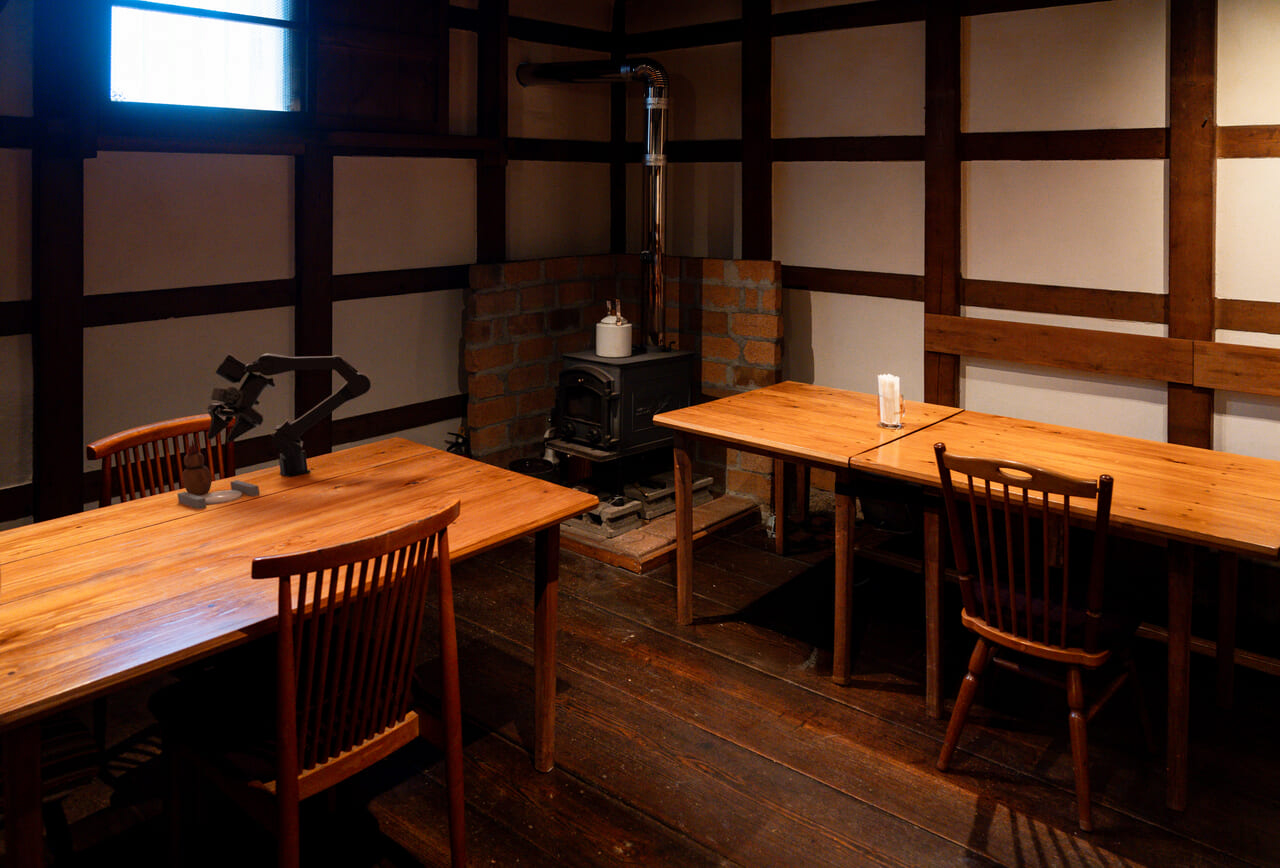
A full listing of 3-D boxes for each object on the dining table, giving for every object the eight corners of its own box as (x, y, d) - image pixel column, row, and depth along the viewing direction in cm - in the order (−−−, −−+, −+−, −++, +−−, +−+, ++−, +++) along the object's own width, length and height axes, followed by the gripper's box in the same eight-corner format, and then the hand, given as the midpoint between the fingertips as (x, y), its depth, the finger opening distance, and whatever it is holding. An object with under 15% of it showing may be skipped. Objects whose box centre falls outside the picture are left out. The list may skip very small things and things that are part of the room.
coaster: (230, 491, 263) (230, 488, 263) (249, 496, 256) (248, 493, 255) (189, 500, 255) (188, 497, 255) (207, 506, 248) (207, 503, 248)
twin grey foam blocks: (238, 488, 265) (237, 480, 265) (259, 494, 257) (258, 485, 257) (178, 502, 254) (177, 493, 253) (198, 509, 246) (197, 499, 245)
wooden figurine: (206, 490, 266) (198, 436, 263) (216, 492, 262) (208, 437, 259) (181, 496, 261) (173, 441, 258) (192, 498, 257) (183, 442, 254)
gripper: (208, 374, 271) (176, 421, 265) (247, 376, 261) (215, 425, 254) (237, 398, 279) (207, 443, 273) (277, 401, 268) (246, 448, 262)
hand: (218, 440), depth 265 cm, fingers open, 9 cm apart
